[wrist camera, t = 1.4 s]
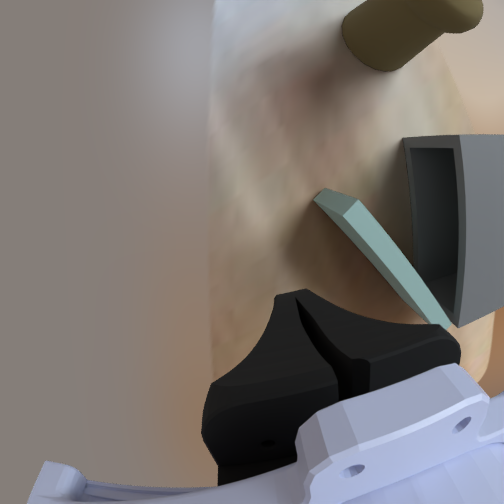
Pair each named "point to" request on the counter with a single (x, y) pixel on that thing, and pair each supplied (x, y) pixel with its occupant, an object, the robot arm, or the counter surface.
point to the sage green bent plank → (382, 253)
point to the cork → (404, 28)
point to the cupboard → (458, 221)
